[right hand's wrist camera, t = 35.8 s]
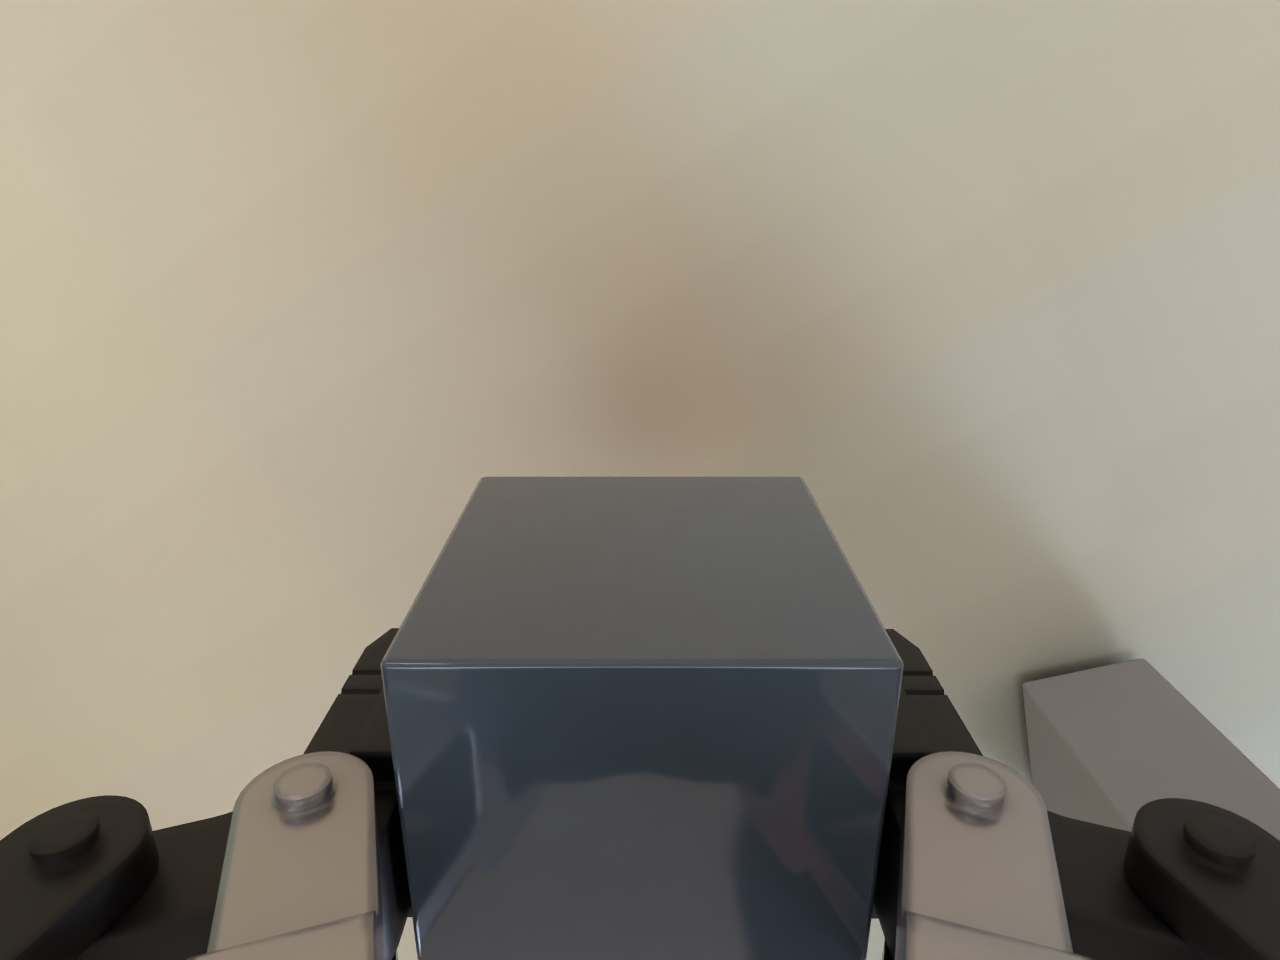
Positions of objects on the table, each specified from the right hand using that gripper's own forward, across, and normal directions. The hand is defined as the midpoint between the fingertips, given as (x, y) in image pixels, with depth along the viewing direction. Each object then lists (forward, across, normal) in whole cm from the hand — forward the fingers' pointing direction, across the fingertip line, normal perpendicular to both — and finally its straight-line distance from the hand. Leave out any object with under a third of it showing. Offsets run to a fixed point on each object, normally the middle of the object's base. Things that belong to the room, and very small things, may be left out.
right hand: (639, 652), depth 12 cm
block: (+1, 0, 0) cm, 1 cm away
